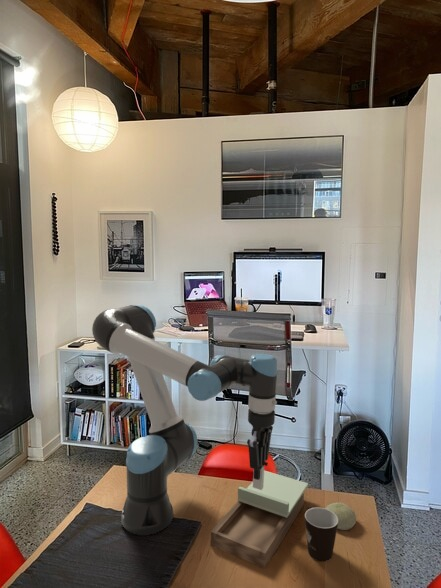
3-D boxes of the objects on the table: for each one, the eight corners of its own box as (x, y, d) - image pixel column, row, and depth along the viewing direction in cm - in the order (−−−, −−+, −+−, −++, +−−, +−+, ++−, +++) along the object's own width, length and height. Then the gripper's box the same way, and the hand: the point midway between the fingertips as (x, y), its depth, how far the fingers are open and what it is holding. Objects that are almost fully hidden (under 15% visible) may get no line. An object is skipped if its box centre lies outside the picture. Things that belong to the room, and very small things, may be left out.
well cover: (237, 500, 126) (238, 488, 125) (263, 472, 142) (263, 461, 142) (287, 517, 118) (287, 504, 118) (308, 485, 134) (308, 473, 134)
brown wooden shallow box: (210, 545, 113) (210, 531, 112) (257, 490, 139) (257, 479, 138) (264, 568, 105) (265, 553, 105) (303, 505, 131) (303, 493, 130)
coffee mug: (337, 567, 106) (339, 530, 105) (303, 561, 107) (304, 525, 106) (334, 536, 117) (336, 503, 116) (303, 532, 119) (304, 499, 118)
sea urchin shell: (322, 523, 119) (325, 494, 124) (323, 530, 125) (326, 501, 130) (355, 531, 116) (357, 501, 121) (355, 537, 122) (357, 508, 127)
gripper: (264, 420, 110) (260, 503, 113) (282, 404, 121) (278, 480, 124) (239, 414, 114) (236, 494, 116) (259, 399, 125) (255, 473, 128)
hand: (258, 487), depth 120 cm, fingers closed
